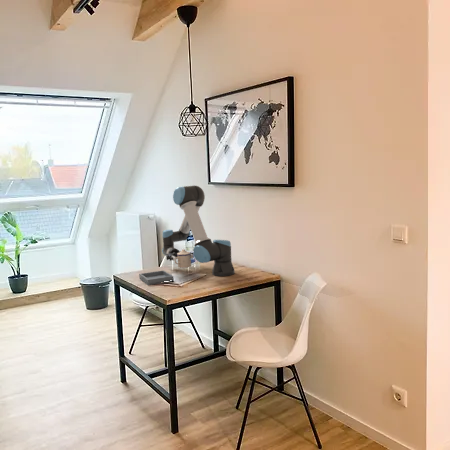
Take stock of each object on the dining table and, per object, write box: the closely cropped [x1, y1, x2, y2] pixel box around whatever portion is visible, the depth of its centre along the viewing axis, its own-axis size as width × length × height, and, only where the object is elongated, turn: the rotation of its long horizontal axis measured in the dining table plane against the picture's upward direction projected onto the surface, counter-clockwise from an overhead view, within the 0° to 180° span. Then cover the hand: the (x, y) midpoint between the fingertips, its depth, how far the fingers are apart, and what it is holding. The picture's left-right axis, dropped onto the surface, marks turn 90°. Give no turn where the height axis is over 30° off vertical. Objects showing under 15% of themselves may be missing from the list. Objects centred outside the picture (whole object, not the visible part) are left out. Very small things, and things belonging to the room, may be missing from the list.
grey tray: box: [138, 269, 174, 286], centre depth 311 cm, size 17×20×4 cm
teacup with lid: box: [174, 249, 192, 269], centre depth 318 cm, size 12×9×12 cm
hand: (184, 257), depth 314 cm, fingers closed on teacup with lid, 12 cm apart
